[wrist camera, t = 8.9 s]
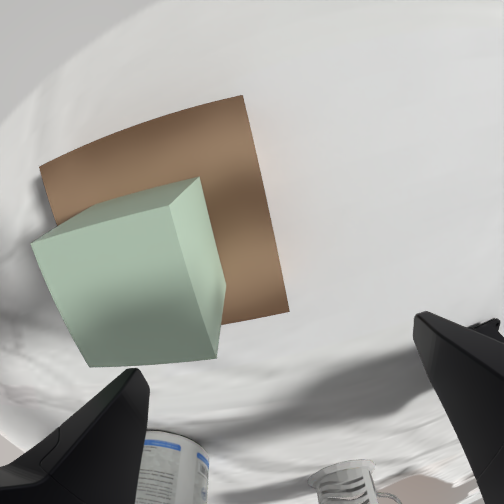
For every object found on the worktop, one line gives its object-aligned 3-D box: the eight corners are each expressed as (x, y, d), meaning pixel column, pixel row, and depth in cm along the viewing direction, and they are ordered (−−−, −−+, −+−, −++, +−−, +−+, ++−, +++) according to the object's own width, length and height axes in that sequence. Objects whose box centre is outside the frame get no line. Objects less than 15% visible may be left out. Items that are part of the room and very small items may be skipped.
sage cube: (226, 285, 17) (216, 358, 11) (129, 300, 17) (89, 367, 12) (199, 176, 15) (168, 205, 9) (95, 204, 15) (30, 243, 9)
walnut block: (282, 280, 21) (289, 311, 18) (126, 310, 22) (108, 341, 18) (243, 102, 17) (242, 94, 13) (71, 158, 18) (39, 166, 14)
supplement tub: (118, 446, 29) (92, 545, 16) (146, 415, 27) (115, 543, 13) (187, 474, 32) (177, 569, 18) (227, 449, 29) (224, 567, 15)
